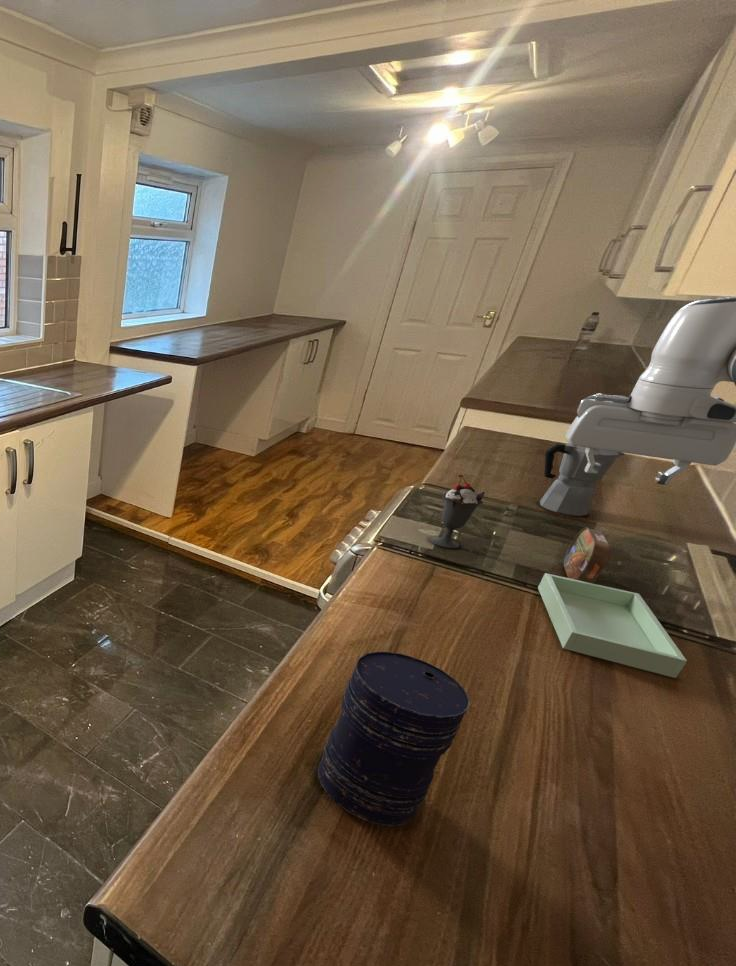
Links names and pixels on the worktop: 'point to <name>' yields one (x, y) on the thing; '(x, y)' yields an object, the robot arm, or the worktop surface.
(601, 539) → the tin
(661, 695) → the worktop surface
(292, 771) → the worktop surface
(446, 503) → the sundae
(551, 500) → the coffeepot
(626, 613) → the tray
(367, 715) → the navy ribbed drum
